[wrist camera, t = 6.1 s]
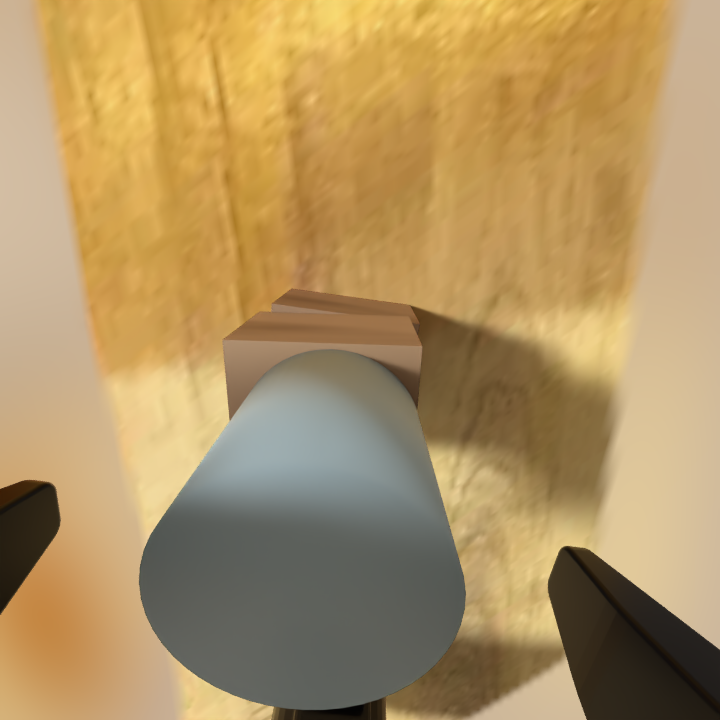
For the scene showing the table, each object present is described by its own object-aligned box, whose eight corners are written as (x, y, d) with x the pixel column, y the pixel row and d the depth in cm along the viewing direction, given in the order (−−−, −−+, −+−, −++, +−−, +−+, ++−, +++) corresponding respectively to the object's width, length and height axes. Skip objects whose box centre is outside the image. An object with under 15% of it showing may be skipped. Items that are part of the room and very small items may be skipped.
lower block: (390, 411, 18) (395, 452, 15) (283, 396, 18) (263, 434, 15) (409, 305, 16) (420, 324, 13) (291, 288, 16) (271, 303, 13)
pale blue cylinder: (401, 517, 11) (426, 725, 7) (237, 494, 11) (142, 691, 6) (437, 365, 10) (505, 493, 5) (247, 335, 10) (133, 440, 5)
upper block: (399, 447, 15) (408, 511, 11) (267, 442, 15) (237, 504, 11) (408, 316, 13) (422, 346, 10) (259, 311, 13) (222, 339, 10)
